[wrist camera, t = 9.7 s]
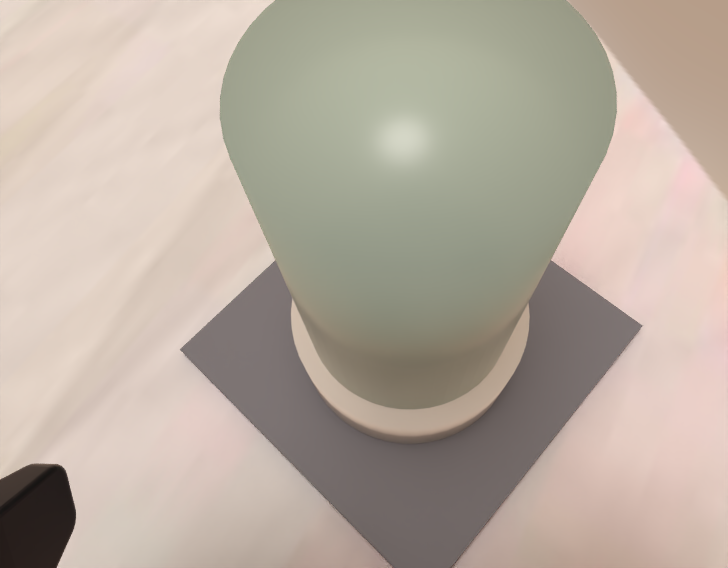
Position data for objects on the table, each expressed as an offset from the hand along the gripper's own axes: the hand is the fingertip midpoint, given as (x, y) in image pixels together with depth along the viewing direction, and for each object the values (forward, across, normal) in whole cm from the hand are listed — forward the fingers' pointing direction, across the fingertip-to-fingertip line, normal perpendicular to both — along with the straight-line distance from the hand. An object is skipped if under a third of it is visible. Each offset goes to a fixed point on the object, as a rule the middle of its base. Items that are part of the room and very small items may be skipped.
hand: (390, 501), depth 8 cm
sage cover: (+11, 0, +2) cm, 11 cm away
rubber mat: (+13, 0, +4) cm, 14 cm away
